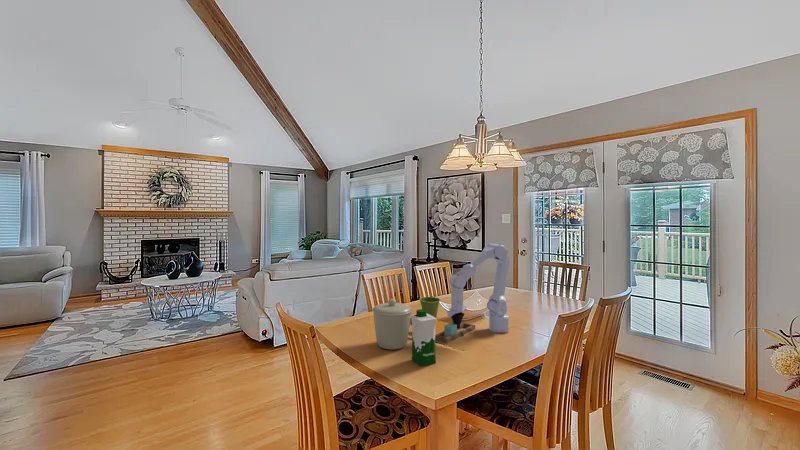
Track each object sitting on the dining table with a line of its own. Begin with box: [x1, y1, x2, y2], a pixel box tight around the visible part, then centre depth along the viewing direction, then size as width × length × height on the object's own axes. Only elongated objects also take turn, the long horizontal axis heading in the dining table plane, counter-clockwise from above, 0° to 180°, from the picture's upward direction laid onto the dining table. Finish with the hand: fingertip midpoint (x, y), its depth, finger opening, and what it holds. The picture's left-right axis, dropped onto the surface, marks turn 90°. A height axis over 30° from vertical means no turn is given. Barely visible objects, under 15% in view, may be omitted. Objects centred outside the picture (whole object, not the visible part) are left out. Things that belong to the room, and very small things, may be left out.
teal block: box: [443, 322, 458, 338], centre depth 171 cm, size 5×4×6 cm
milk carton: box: [410, 308, 438, 367], centre depth 145 cm, size 9×9×20 cm
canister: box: [371, 298, 414, 351], centre depth 161 cm, size 18×18×21 cm
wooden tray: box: [435, 322, 476, 346], centre depth 174 cm, size 26×8×3 cm, turn 140°
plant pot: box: [418, 296, 442, 318], centre depth 202 cm, size 12×12×11 cm
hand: (457, 328), depth 175 cm, fingers closed
